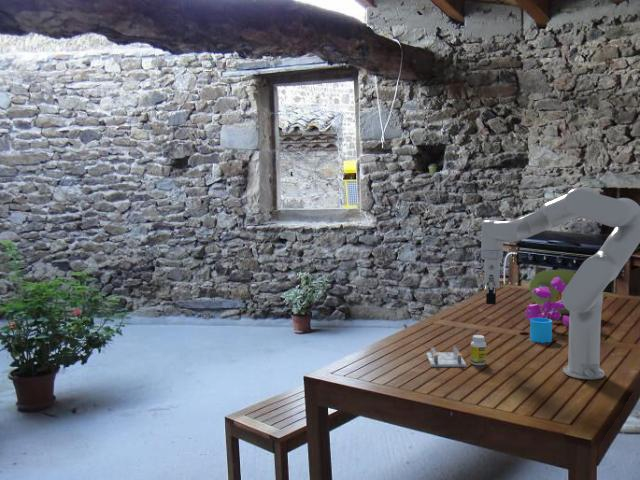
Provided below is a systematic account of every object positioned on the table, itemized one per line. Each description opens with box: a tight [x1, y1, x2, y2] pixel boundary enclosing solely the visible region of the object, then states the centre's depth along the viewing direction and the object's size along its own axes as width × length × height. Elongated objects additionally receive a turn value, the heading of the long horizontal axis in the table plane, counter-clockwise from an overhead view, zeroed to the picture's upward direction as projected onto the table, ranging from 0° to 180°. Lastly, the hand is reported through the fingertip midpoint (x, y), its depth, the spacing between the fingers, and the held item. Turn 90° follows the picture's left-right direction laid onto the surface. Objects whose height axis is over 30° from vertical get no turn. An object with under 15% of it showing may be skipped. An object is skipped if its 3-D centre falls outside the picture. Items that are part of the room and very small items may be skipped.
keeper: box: [426, 346, 467, 368], centre depth 215 cm, size 14×12×4 cm
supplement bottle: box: [469, 334, 487, 366], centre depth 211 cm, size 5×5×10 cm
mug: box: [529, 317, 553, 344], centre depth 240 cm, size 12×8×8 cm
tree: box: [525, 269, 576, 328], centre depth 266 cm, size 30×28×35 cm
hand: (491, 301), depth 216 cm, fingers open, 9 cm apart
